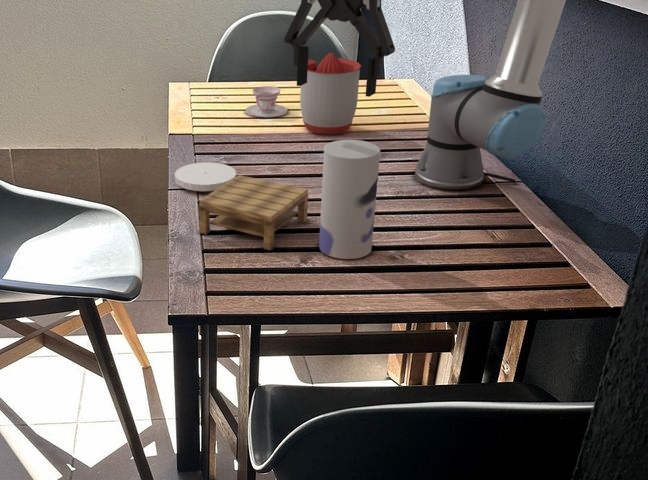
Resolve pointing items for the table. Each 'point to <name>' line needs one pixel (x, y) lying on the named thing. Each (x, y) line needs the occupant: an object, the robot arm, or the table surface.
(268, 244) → the rack
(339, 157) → the container
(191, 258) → the table surface
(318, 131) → the citrus juicer
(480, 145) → the robot arm
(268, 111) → the teacup
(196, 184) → the plastic lid
